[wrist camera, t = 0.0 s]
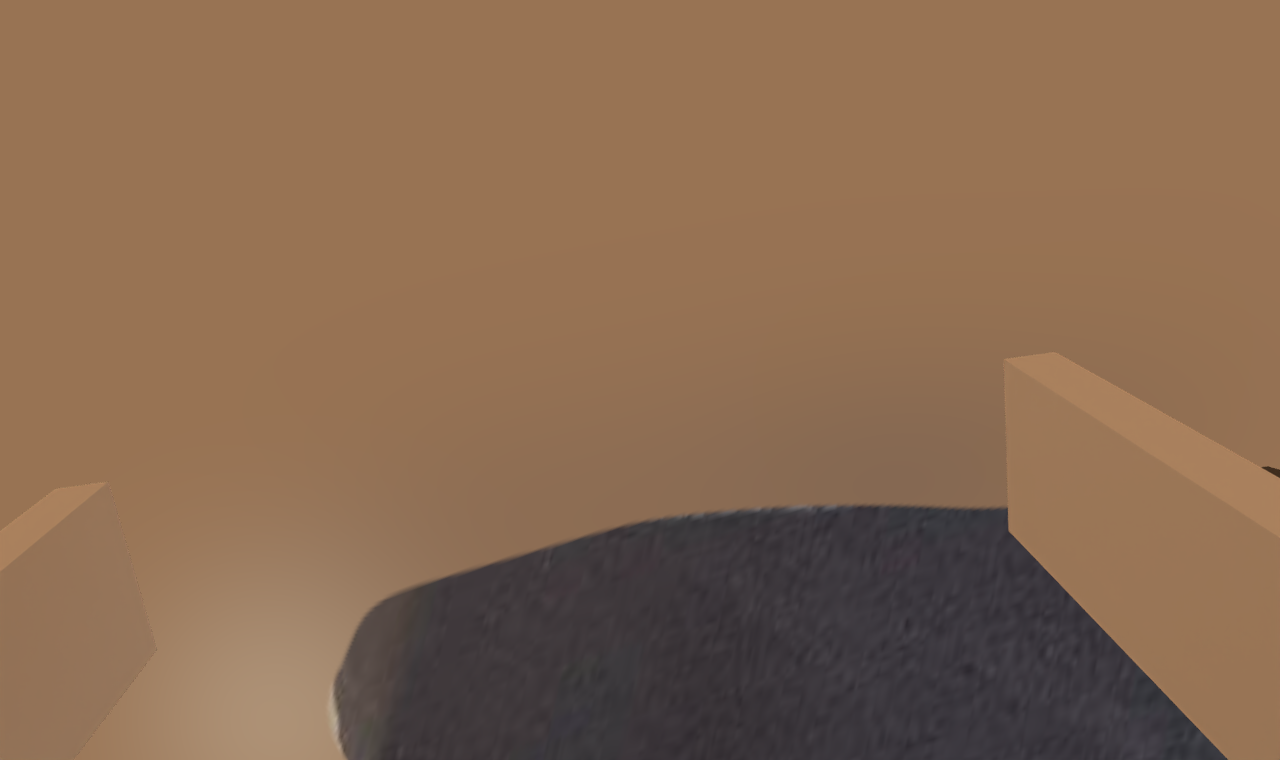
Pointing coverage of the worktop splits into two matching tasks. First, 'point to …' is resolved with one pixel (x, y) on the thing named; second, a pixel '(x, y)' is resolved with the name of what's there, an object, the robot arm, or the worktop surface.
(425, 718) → the worktop surface
